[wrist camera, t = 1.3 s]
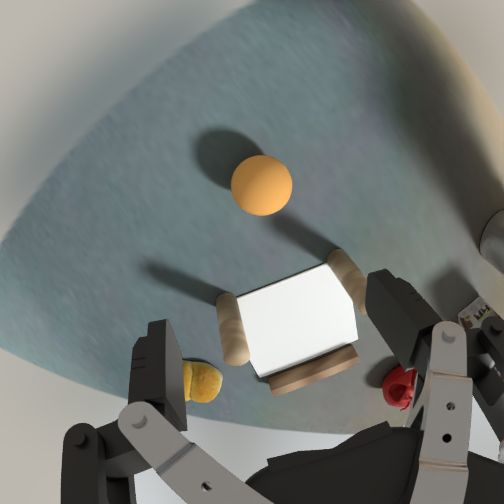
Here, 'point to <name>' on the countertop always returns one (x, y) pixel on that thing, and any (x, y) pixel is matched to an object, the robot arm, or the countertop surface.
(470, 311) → the coffee box
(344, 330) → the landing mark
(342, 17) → the countertop surface
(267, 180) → the ball
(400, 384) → the pomegranate
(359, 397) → the countertop surface
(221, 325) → the post
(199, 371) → the bread roll
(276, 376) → the stopper rail
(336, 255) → the post
